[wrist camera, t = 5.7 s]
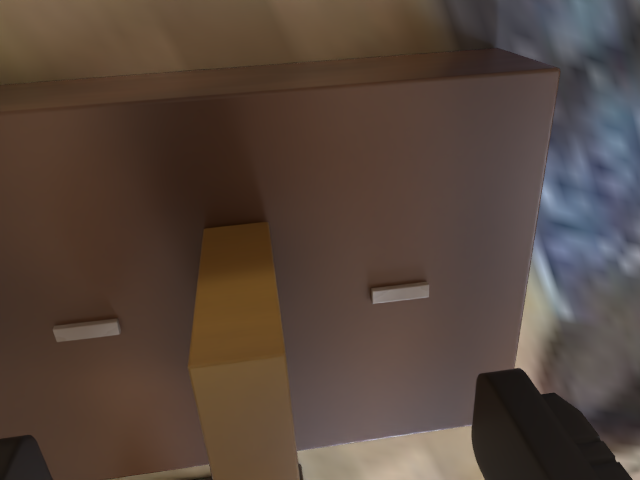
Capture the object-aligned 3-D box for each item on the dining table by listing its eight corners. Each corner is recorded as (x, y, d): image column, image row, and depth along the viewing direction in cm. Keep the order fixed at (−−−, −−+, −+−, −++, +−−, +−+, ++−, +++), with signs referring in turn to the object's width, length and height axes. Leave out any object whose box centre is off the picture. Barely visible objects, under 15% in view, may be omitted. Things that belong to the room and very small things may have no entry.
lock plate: (499, 47, 14) (566, 69, 11) (468, 355, 18) (509, 425, 16) (-86, 90, 12) (-180, 127, 10) (40, 412, 17) (2, 501, 14)
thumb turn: (202, 227, 12) (185, 378, 7) (268, 220, 12) (287, 364, 7) (231, 386, 14) (230, 574, 9) (286, 378, 14) (308, 560, 10)
